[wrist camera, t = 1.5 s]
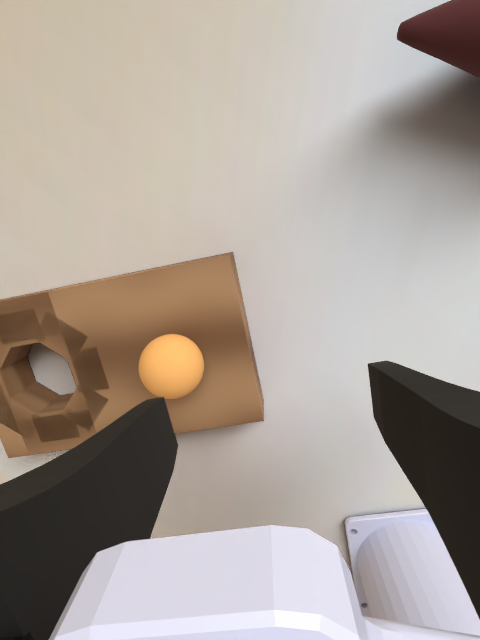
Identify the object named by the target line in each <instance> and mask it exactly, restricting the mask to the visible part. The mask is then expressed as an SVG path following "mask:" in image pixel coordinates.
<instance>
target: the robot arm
mask: <svg viewBox="0 0 480 640" xmlns="http://www.w3.org/2000/svg"><path fill="white" fill-rule="evenodd" d="M368 370H369V378H370V387H371V396H372V405H373V413H374V418H375V421H376V423H377V425H378V428H379V430H380V432H381V434H382V436H383V439H384V441H385V443H386V444H387V446H388V448H389V449H390V451H391V452H392V454H393V456H394V457H395V459H396V460H397V462H398V464H399V465H400V467H401V468H402V470H403V472H404V473H405V475H406V476H407V478H408V480H409V481H410V483H411V484H412V486H413V487H414V489H415V491H416V492H417V494H418V495H419V497H420V499H421V500H422V502H423V504H424V505H425V507H426V509H419V510H409V511H400V512H391V513H382V514H373V515H364V516H355V517H349V518H347V519H346V520H345V529H346V536H347V542H348V548H349V555H350V561H351V567H352V574H353V579H352V576H351V572H350V570H349V568H348V566H347V564H346V562H345V560H344V558H343V557H342V555H341V553H340V551H339V549H338V547H337V546H336V545H334V544H333V543H331V542H329V541H328V540H326V539H324V538H323V537H321V536H319V535H317V534H316V533H314V532H312V531H311V530H309V529H307V528H301V527H291V526H280V525H265V526H256V527H248V528H239V529H230V530H222V531H213V532H204V533H196V534H187V535H178V536H170V537H161V538H152V539H150V537H151V533H152V530H153V527H154V524H155V522H156V519H157V516H158V513H159V510H160V507H161V505H162V502H163V499H164V496H165V493H166V490H167V488H168V485H169V482H170V479H171V476H172V473H173V469H174V464H175V460H176V454H177V448H178V444H177V440H176V437H175V433H174V430H173V426H172V423H171V420H170V416H169V413H168V409H167V406H166V402H165V399H164V397H159V398H152V399H147V400H145V401H143V402H142V403H140V404H138V405H137V406H135V407H134V408H132V409H131V410H129V411H128V412H126V413H125V414H124V415H122V416H121V417H119V418H118V419H116V420H115V421H114V422H112V423H111V424H109V425H108V426H107V427H105V428H104V429H102V430H101V431H99V432H98V433H96V434H94V435H93V436H91V437H90V438H88V439H87V440H85V441H84V442H82V443H81V444H79V445H78V446H76V447H74V448H73V449H71V450H69V451H68V452H66V453H64V454H62V455H60V456H59V457H57V458H55V459H53V460H51V461H50V462H48V463H46V464H44V465H42V466H40V467H38V468H35V469H33V470H31V471H29V472H27V473H25V474H23V475H21V476H19V477H17V478H15V479H12V480H10V481H8V482H5V483H3V484H1V485H0V640H480V392H478V391H474V390H471V389H467V388H464V387H461V386H457V385H454V384H451V383H448V382H445V381H442V380H439V379H436V378H433V377H431V376H428V375H425V374H423V373H420V372H417V371H415V370H412V369H410V368H407V367H404V366H402V365H399V364H396V363H393V362H390V361H381V362H375V363H369V364H368ZM352 529H355V530H353V531H352ZM353 580H354V583H353ZM354 586H355V587H354Z"/></svg>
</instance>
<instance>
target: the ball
mask: <svg viewBox="0 0 480 640" xmlns="http://www.w3.org/2000/svg"><path fill="white" fill-rule="evenodd" d="M203 372H204V359H203V356H202V353H201V351H200V349H199V348H198V346H197V345H196V344H195V343H194V342H193V341H192V340H190V339H189V338H187V337H184V336H182V335H177V334H167V335H163V336H160V337H157V338H156V339H154V340H153V341H151V342H150V343H149V344H148V345H147V346H146V347H145V349H144V350H143V352H142V354H141V356H140V359H139V375H140V378H141V381H142V383H143V385H144V386H145V387H146V388H147V390H149V391H150V392H151V393H152V394H154V395H156V396H158V397H164V399H176V398H181V397H183V396H185V395H187V394H189V393H190V392H192V391H193V390H194V389H195V388H196V387H197V385H198V384H199V382H200V381H201V379H202V376H203Z"/></svg>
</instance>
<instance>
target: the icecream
mask: <svg viewBox="0 0 480 640" xmlns="http://www.w3.org/2000/svg"><path fill="white" fill-rule="evenodd" d="M397 40H399V41H401V42H403V43H405V44H407V45H409V46H411V47H413V48H415V49H417V50H419V51H422V52H424V53H426V54H429V55H431V56H433V57H435V58H438V59H440V60H442V61H445V62H447V63H449V64H451V65H453V66H455V67H458V68H460V69H462V70H464V71H466V72H468V73H471V74H473V75H475V76H477V77H479V78H480V0H451V1H449V2H446V3H444V4H442V5H439V6H437V7H435V8H432V9H430V10H428V11H425V12H423V13H421V14H418V15H416V16H414V17H412V18H410V19H408V20H406V21H404V22H402V23H401V24H400V26H399V29H398V32H397Z"/></svg>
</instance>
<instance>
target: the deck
mask: <svg viewBox="0 0 480 640" xmlns="http://www.w3.org/2000/svg"><path fill="white" fill-rule="evenodd" d="M167 334H177V335H182V336H184V337H187V338H189V339H190V340H192V341H193V342H194V343H195V344H196V345H197V346H198V348H199V349H200V351H201V353H202V356H203V359H204V372H203V376H202V379H201V381H200V382H199V384H198V385H197V387H196V388H195V389H194V390H193V391H192V392H190V393H189V394H187V395H185V396H183V397H181V398H176V399H165V402H166V406H167V409H168V413H169V416H170V420H171V423H172V426H173V430H174V433H175V434H177V433H184V432H190V431H197V430H204V429H211V428H218V427H225V426H231V425H238V424H245V423H252V422H259V421H264V400H263V396H262V391H261V386H260V381H259V376H258V371H257V366H256V362H255V357H254V352H253V347H252V342H251V337H250V332H249V328H248V323H247V318H246V313H245V308H244V303H243V298H242V294H241V289H240V284H239V279H238V274H237V269H236V264H235V260H234V255H233V252H230V253H225V254H220V255H215V256H211V257H206V258H201V259H196V260H191V261H186V262H181V263H176V264H172V265H167V266H162V267H157V268H152V269H147V270H142V271H138V272H133V273H128V274H123V275H118V276H113V277H108V278H104V279H99V280H94V281H89V282H84V283H79V284H74V285H70V286H65V287H60V288H55V289H50V290H45V291H40V292H35V293H31V294H26V295H21V296H16V297H11V298H6V299H1V300H0V439H1V441H2V444H3V446H4V448H5V451H6V453H7V455H8V458H12V457H19V456H26V455H33V454H40V453H47V452H54V451H60V450H67V449H73V448H74V447H76V446H78V445H79V444H81V443H82V442H84V441H85V440H87V439H88V438H90V437H91V436H93V435H94V434H96V433H98V432H99V431H101V430H102V429H104V428H105V427H107V426H108V425H109V424H111V423H112V422H114V421H115V420H116V419H118V418H119V417H121V416H122V415H124V414H125V413H126V412H128V411H129V410H131V409H132V408H134V407H135V406H137V405H138V404H140V403H142V402H143V401H145V400H147V399H152V398H159V397H158V396H156V395H154V394H152V393H151V392H150V391H149V390H147V388H146V387H145V386H144V385H143V383H142V381H141V378H140V375H139V359H140V356H141V354H142V352H143V350H144V349H145V347H146V346H147V345H148V344H149V343H150V342H151V341H153V340H154V339H156V338H157V337H160V336H163V335H167ZM38 342H40V343H41V344H43V345H45V346H46V347H48V348H50V349H51V350H53V351H55V352H56V353H58V354H59V355H61V356H63V357H64V358H66V359H67V360H68V363H69V366H70V369H71V372H72V375H73V378H74V380H75V383H76V386H77V388H76V390H75V392H74V393H72V394H66V395H58V394H56V393H55V392H53V391H51V390H50V389H48V388H46V387H45V386H43V385H41V384H40V383H38V382H36V380H35V377H34V374H33V372H32V369H31V367H30V364H29V361H28V359H27V355H28V353H29V351H30V349H31V347H32V345H33V343H38Z"/></svg>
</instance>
